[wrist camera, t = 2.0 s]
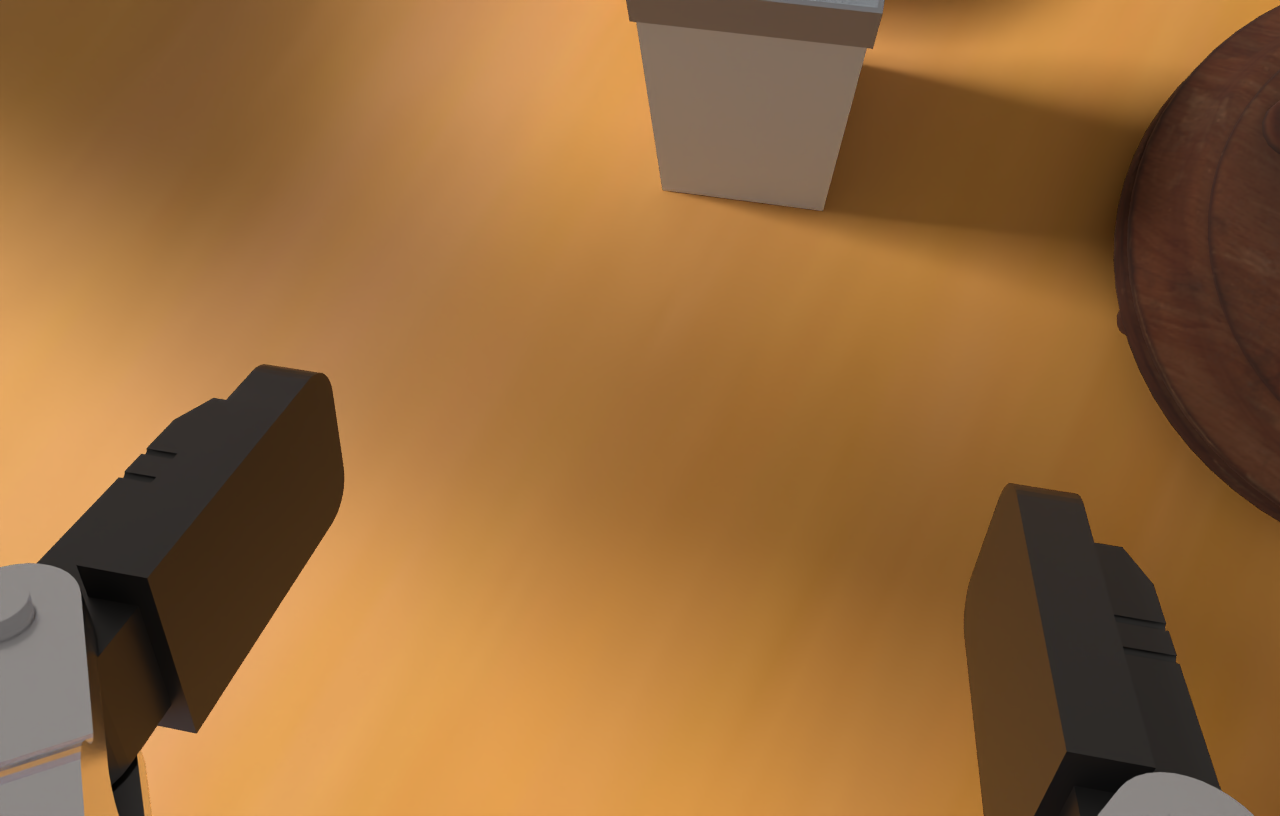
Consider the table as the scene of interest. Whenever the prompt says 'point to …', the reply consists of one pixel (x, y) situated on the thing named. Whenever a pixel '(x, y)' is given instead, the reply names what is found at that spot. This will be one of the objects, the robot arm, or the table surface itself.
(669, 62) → the grey-topped square post
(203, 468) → the robot arm
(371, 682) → the table surface
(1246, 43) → the scroll
